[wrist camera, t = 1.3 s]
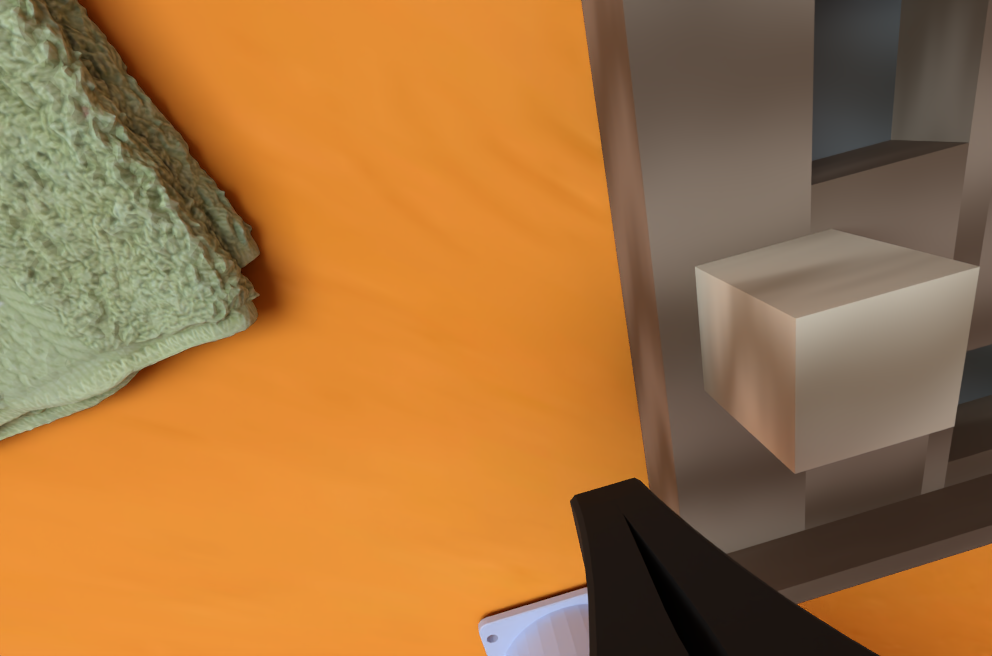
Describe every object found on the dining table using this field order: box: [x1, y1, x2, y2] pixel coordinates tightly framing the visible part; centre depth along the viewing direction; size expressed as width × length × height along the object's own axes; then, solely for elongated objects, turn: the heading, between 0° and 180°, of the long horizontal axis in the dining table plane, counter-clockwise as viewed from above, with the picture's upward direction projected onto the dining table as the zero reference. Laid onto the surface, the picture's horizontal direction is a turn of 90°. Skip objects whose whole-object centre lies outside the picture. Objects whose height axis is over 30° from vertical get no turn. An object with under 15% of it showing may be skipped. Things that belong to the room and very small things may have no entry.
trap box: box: [581, 0, 992, 604], centre depth 17 cm, size 22×23×6 cm
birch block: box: [695, 229, 980, 474], centre depth 14 cm, size 4×4×4 cm
